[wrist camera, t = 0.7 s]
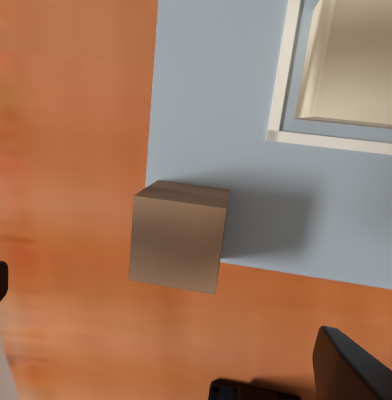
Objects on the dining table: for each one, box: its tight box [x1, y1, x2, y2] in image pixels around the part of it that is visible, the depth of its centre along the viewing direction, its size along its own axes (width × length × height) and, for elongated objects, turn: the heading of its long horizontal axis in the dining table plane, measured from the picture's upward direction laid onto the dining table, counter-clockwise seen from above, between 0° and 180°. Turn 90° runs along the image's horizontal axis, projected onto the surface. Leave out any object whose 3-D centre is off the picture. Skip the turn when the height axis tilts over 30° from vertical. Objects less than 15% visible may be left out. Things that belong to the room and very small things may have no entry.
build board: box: [145, 0, 392, 289], centre depth 18 cm, size 18×16×1 cm
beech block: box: [294, 0, 392, 129], centre depth 14 cm, size 6×6×5 cm
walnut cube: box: [129, 180, 230, 295], centre depth 18 cm, size 4×4×4 cm
